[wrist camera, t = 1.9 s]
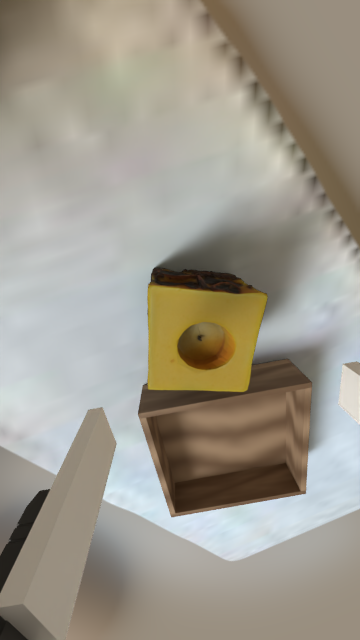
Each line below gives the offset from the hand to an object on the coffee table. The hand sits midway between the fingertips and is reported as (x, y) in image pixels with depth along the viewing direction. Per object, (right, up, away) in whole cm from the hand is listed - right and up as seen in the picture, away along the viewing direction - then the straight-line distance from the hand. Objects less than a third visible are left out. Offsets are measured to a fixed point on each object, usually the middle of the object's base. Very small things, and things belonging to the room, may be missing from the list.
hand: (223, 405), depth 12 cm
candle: (-1, +6, +16) cm, 17 cm away
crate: (+5, -13, +23) cm, 27 cm away
